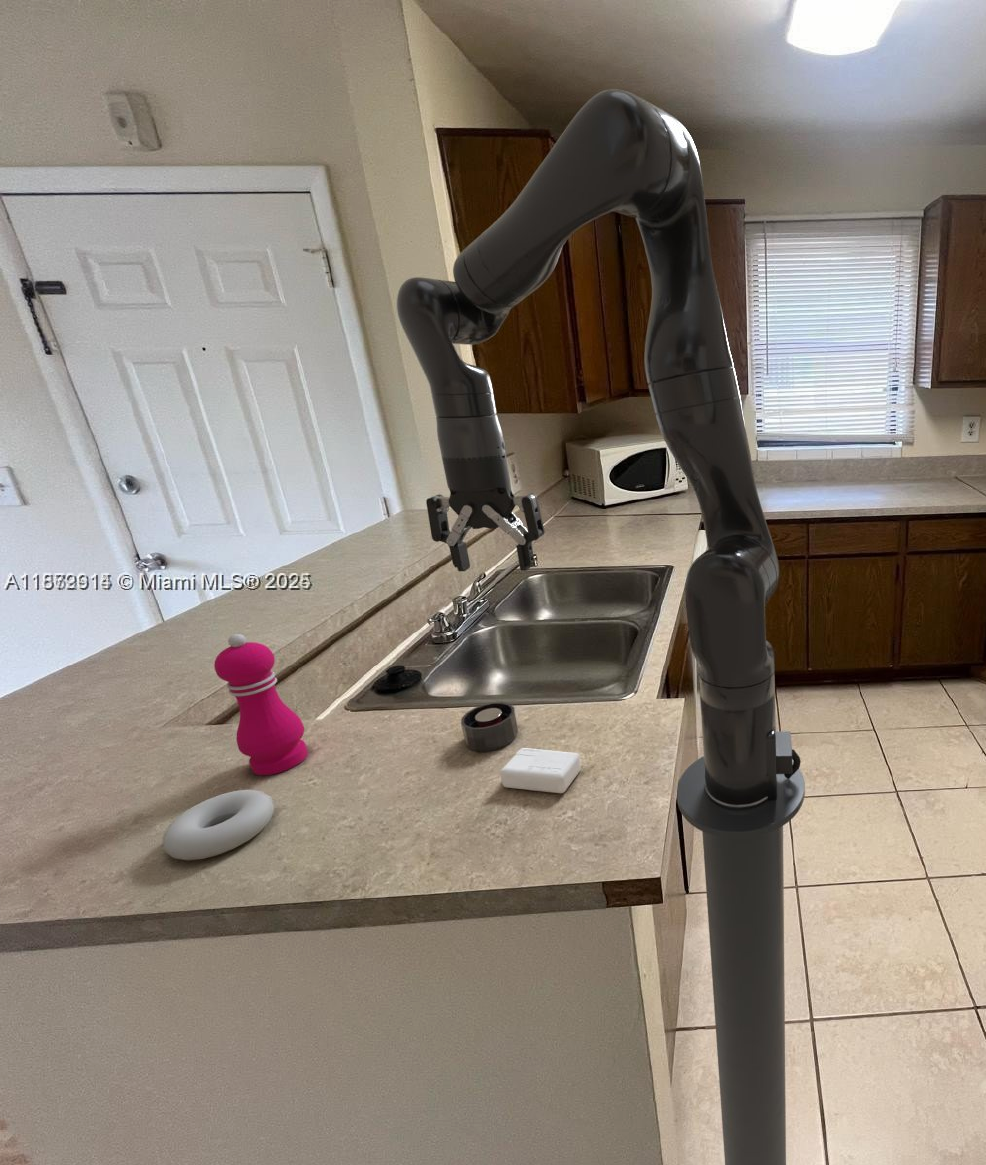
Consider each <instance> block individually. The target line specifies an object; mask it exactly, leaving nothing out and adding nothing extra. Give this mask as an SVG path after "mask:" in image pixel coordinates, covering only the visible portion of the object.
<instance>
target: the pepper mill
mask: <svg viewBox="0 0 986 1165" xmlns="http://www.w3.org/2000/svg"><path fill="white" fill-rule="evenodd" d="M227 643H228V645H229V646H228V647H226V648H224V649H223V650H222V651H220V652H219V653H218V654H217V656H216V657H215V660H214V663H213V665H214V666H213V667H214V671H215V674H216V676H217V677H218V678H219V679H221V680H222V681H224V682H227V684H226V689H228V694H229V695H231V696H232V697H235V699H236V701H237V704H238V708H239V709H238V710H239V722H238V726H237V730H236V744H237V748H238V750H239V752H240V753H241V754H242V755H244V756H247V757H249V759H248V763H249V766H250V769H251V771H252V773H253V774H254V775H256V776H257V775H258V776H271V775H277V774H279V773H283V772H285V771H288V770H290V769H293V768H294V767H296V766H297V765H299V764H301V763H302V762H303V761H304V760H306V758H307V757H308V755H309V751H308V748H307V745H306V742H305V741H304V740H303V739H302V738H303V737H304V734H305V725H304V724H303V721H302V719H301V718H300V717H299V715H298V714H297V713H296V712H295V711H293V709H291V708H290V707H289V706H287V704H285V703H284V702H283V700H282V699H281V698H280V695H279V693H278V692H277V690H276V683H277V682H278V679H277V677H276V672H274V670H272V669H273V668H274V666H275V663H276V662H275V661H276V659H275V655H274V653H273V651H272V650H271V649H270V648H269V647H268V646H266V645H265V644H263V643H259V642H256V641H255V642H254V641H252V642H251V641H249V642H247V638H246V636H245V635H243V634H241V633H235V634H232V635H231V636H229V637H228V639H227Z"/></svg>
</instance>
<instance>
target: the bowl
mask: <svg viewBox="0 0 986 1165" xmlns="http://www.w3.org/2000/svg"><path fill="white" fill-rule="evenodd" d="M490 708H498V709H500V710H501V711H502V715H501V719H502V722H500V723H497V724H495V725H493V726H488V727H483V728H479V727H478V722H476V720H475V716H476V715H477V714H478V713H479V712H481V711H483V710H485V709H490ZM460 720H461V721H460V725H461V730H462V734H463V738H464V743H465V745H466V746H467V747H468V748H469V749H470V750H471V751H473V752H477V753H479V752H480V753H484V752H485V753H486V752H492V751H496V750H499V749H501V748H504V747H506V746H508V745H509V744H511V743H512V742H513V741H514V740H515V739H516V738H517V736H518V733H519V726H518V724H519V723H518V720H517V715H516V709H515V707H514V706H513V705H512V704H511V703H508V702H503V701H500V702H499V701H497V702H496V701H495V702H489V703H484V704H482V705H481V704H480V705H478V706H476V707H474V708H471V710H469V711H467V712H466V713H465V714H464V715H463V716H462V717H461V719H460Z"/></svg>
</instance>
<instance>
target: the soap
mask: <svg viewBox="0 0 986 1165" xmlns="http://www.w3.org/2000/svg"><path fill="white" fill-rule="evenodd" d="M581 769H582V763H581V757H580V755H579V753H577V752H570V751H560V750H550V749H549V750H548V749H541V748H530V747H521V748H520V749H519V750H518V751H517V752H515V754H513V757H512V758H510V759H509V761H508V762H507V763H506V764H505V765H504V766H503V767H501V769H500V772H499V773H500V774H499V775H500V779H501V783H502V784H501V785H502V786H503V787H504V788H508V789H509V788H510V789H519V790H527V791H536V792H545V793H546V792H547V793H553V794H563V793H565V792H566V791H567V789H568V788H569V787H570V785H571V784H572V782H574V780H575V779H576V777H577V776H578V774H579V773H580V772H581Z"/></svg>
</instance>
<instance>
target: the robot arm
mask: <svg viewBox="0 0 986 1165" xmlns="http://www.w3.org/2000/svg"><path fill="white" fill-rule="evenodd" d="M700 162H701V161H700V158H699V154H698V150H697V148H696V145H695V142H694V140H693V138H692V136H691V135H690V133H689V131H688V130H687V129H686V127H685V126H684V125H683V124H682V123H681V122H680V121H679V120H678V119H677V118H676V117H674V116H673V115H671V114H670V113H669V112H666V110H663V109H662V108H660V107H658V106H656V105H654V104H652V103H651V102H650V101H647V100H645V99H644V98H642V97H640V96H638V95H636V94H635V93H632V92H630V91H626V90H623V89H619V88H618V89H617V88H610V89H605V90H601V91H599V92H597V93H596V94H595V95H594V96H593V97H591V98H590V99H589V100H587V102H586V103H585V104H583V106H582V107H581V108H580V109H579V111H578V112H576V113H575V115H574V116H573V118H572V119H571V120H570V122H569V123H568V124H567V126H566V127H565V129H564V130H563V132H562V133H561V135H560V136H559V138H558V139H557V141H555V143H554V145H553V147H552V148H551V149H550V151H549V152H548V154H547V155H546V157H545V158H544V159H543V161H542V162H541V163H540V165H539V166H538V167H537V169H536V170H535V172H534V173H533V174H532V176H531V177H530V179H529V180H528V182H527V183H526V185H524V187H523V189H522V190H521V191H520V192H519V194H518V195H517V197H516V199H515V200H514V201H513V202H512V203H511V205H510V206H509V207H508V208H507V209H506V210H505V211H504V212H503V213H502V214H501V215H500V217H498V218H497V220H495V221H494V222H493V223H492V224H491V225H490V226H489V227H488V228H486V229H485V230H484V231H483V232H482V233H480V235H479V236H478V237H477V238H475V239H474V240H473V241H471V243H470V244H468V245H467V246H466V247H465V248H464V249H463V250H462V251H461V252H460V253H459V255H458V256H457V257H456V258H455V260H454V263H453V266H452V275H453V279H454V281H451V280H446V279H445V280H444V279H443V280H442V279H438V278H429V277H423V276H421V277H420V276H419V277H417V276H416V277H410V278H408V279H406V280H404V282H403V283H402V284H401V285H400V287H399V290H398V292H397V297H396V312H397V317H398V320H399V323H400V326H401V328H402V330H403V333H404V335H405V336H406V338H407V340H408V342H409V344H410V346H411V348H412V351H413V353H414V354H415V357H416V358H417V361H418V363H419V366H420V367H421V370H422V371H423V374H424V376H425V377H426V378H425V379H426V380H427V382H428V385H429V390H430V394H431V400H432V405H433V410H434V414H435V416H436V417H435V420H436V421H435V422H436V434H437V440H438V446H439V451H440V455H441V460H442V465H443V470H444V475H445V480H446V484H447V488H448V490H449V493H450V494H449V496H444V495H443V494H436V495H434V496H431V497H429V498H427V499H426V500H425V504H426V509H427V510H426V511H427V515H428V522H429V529H430V536H431V539H432V540H433V541H434V542H436V543H439V542H441V543H445V544H446V545H447V546H448V548H449V553H450V556H451V557H450V558H451V561H452V565H453V567H454V568H457V571H458V572H466V571H468V570H469V569H470V568H471V562H470V557H469V552H468V547H467V542H466V541H464V539H465V538H466V536H467V534H468V532H469V530H471V528H472V530H480V529H483V528H486V529H492V530H493V529H494V530H496V529H497V528H500V530H502V531H503V533H505V534H507V535H509V536H510V537H511V538H512V539H513V540H514V541H515V542H516V543H517V545H515V548H516V553H517V558H518V564H519V570H520V571H522V572H523V571H524V572H527V571H529V570H530V569H531V568H532V565H533V564H534V563H535V556H534V550H533V544H532V543H533V541H537V540H539V539H540V538H541V537H542V536H544V535H545V534H546V532H545V527H544V522H543V517H542V513H541V508H540V504H539V500H538V499H539V498H538V495H537V494H536V493H535V492H534V493H533V492H532V493H528V494H527V495H517V496H516V495H515V494H514V493H513V491H512V486H511V484H512V482H511V477H510V471H509V465H508V460H507V452H506V443H505V440H504V435H503V431H502V427H501V424H500V420H499V417H498V414H497V413H498V412H497V406H496V400H495V399H496V398H495V395H494V389H493V388H494V387H493V384H492V379H491V376H490V374H489V372H488V371H487V370H486V369H485V368H483V367H480V366H478V365H473V364H470V363H468V362H467V363H466V361H464V360H463V359H462V357H461V356H460V354H459V352H458V350H457V348H456V346H455V345H467V346H472V345H479V344H482V343H484V342H486V341H489V340H490V339H492V338H493V337H494V336H495V335H496V334H497V333H498V332H499V330H500V329H501V327H502V325H503V323H504V322H505V321H506V319H507V317H508V316H509V314H510V311H512V308H514V307H516V306H517V305H518V304H520V303H521V302H522V301H523V300H525V299H526V298H528V297H529V296H530V295H532V294H533V293H534V292H536V290H538V289H539V288H540V287H541V286H543V285H544V284H545V283H546V281H547V280H549V278H550V277H551V276H552V274H553V272H554V270H555V268H556V266H557V264H558V262H559V258H560V257H561V253H562V250H563V248H564V246H565V244H566V242H567V241H568V239H569V238H570V237H571V236H572V235H573V234H574V233H575V232H576V231H578V230H579V229H580V228H581V227H583V226H585V225H586V224H589V223H590V222H592V221H594V220H596V219H598V218H600V217H602V216H604V215H607V214H609V213H611V212H614V213H616V214H617V213H618V214H620V215H623V216H626V217H630V218H632V219H633V218H634V219H635V221H636V223H637V226H638V229H639V232H640V235H641V239H642V242H643V247H644V251H645V255H646V259H647V264H648V268H649V274H650V282H651V299H650V310H649V316H648V321H647V328H646V333H645V342H644V350H643V351H644V352H643V353H644V354H643V355H644V356H643V362H644V372H645V379H646V382H647V384H648V385H647V387H648V391H649V395H650V398H651V404H652V407H653V411H654V414H655V418H656V419H655V420H656V422H657V425H658V428H659V431H660V434H661V436H662V438H663V440H664V442H665V444H666V446H667V448H668V451H670V454H671V455H672V457H673V458H674V460H675V462H676V463H677V465H678V466H679V468H680V469H681V471H682V473H683V474H684V476H685V477H686V479H687V480H688V482H689V484H690V485H691V488H692V489H693V492H694V494H695V496H696V499H697V502H698V505H699V509H700V513H701V517H702V521H703V526H704V527H703V528H704V532H705V538H706V547H707V550H705V551H704V552H703V553H701V554H700V555H699V556H698V557H696V558H695V559H694V561H693V562H692V563H691V565H689V568H688V570H687V574H686V577H685V584H684V585H685V586H684V596H685V597H684V598H685V599H684V600H685V609H686V610H685V611H686V619H687V628H688V636H689V638H688V639H689V645H690V649H691V650H690V651H691V653H692V656H693V657H694V659H695V661H696V663H697V670H698V686H699V703H700V717H701V718H700V719H701V731H702V732H701V733H702V734H701V735H702V747H703V748H702V749H703V750H702V752H703V756H704V765H705V791H706V794H707V796H708V797H709V799H710V800H711V801H712V802H714V803H715V804H717V805H719V806H721V807H724V808H727V809H734V810H744V809H750V808H754V807H757V806H759V805H762V804H763V803H765V802H767V801H770V800H776V799H777V776H776V774H784V776H785V777H786V778H788V779H789V778H790V777H791V776H792V775H793V774H794V773H796V772H797V770H798V769H799V770H800V768H801V763H802V762H801V757H800V756H799V754H798V753H797V752H796V750H795V749H793V747H792V732H791V730H790V731H789V730H788V731H787V730H786V731H785V730H784V731H777V730H776V729H777V728H776V727H777V726H776V725H777V724H776V683H775V682H776V680H775V679H776V678H775V676H776V675H775V674H776V673H775V668H776V666H775V665H776V662H775V660H776V659H775V658H776V657H775V649H774V647H773V645H772V644H771V643H770V642H769V641H768V640H767V631H766V630H767V629H766V626H767V625H766V605H767V604H768V602H769V601H770V600H771V598H772V597H773V596H774V594H775V592H776V590H777V588H778V585H779V582H780V563H779V559H778V555H777V551H776V548H775V545H774V542H773V539H772V536H771V532H770V529H769V527H768V524H767V520H766V517H765V513H764V510H763V507H762V504H761V500H760V497H759V493H758V490H757V485H756V480H755V474H754V468H753V462H752V461H753V460H752V455H751V454H752V453H751V449H750V444H749V438H748V433H747V429H746V425H745V419H744V418H745V417H744V413H743V406H742V400H741V394H740V389H739V385H738V380H737V375H736V369H735V365H734V362H733V358H732V354H731V350H730V346H729V340H728V336H727V331H726V325H725V320H724V315H723V309H722V305H721V301H720V294H719V291H718V286H717V282H716V277H715V272H714V267H713V266H714V265H713V259H712V253H711V244H710V236H709V226H708V225H709V224H708V218H707V217H708V216H707V208H706V198H705V190H704V181H703V175H702V168H701V167H702V166H701V163H700ZM516 506H517V507H518V509H519V510H520V511H521V512H522V513H523V515H524V519H525V523H526V527H525V525H523V522H522V519H520V518H519V517H518V516H517V514H515V512H514V510H515V507H516ZM450 509H451V510H452V511H454V512H455V514H456V515H457V516H458V517H457V518H456V520H455V521H454V523H453V525H452V527H451V531H450V526H449V525H450V524H449V518H448V512H449V511H450ZM792 762H793V765H792Z"/></svg>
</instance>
